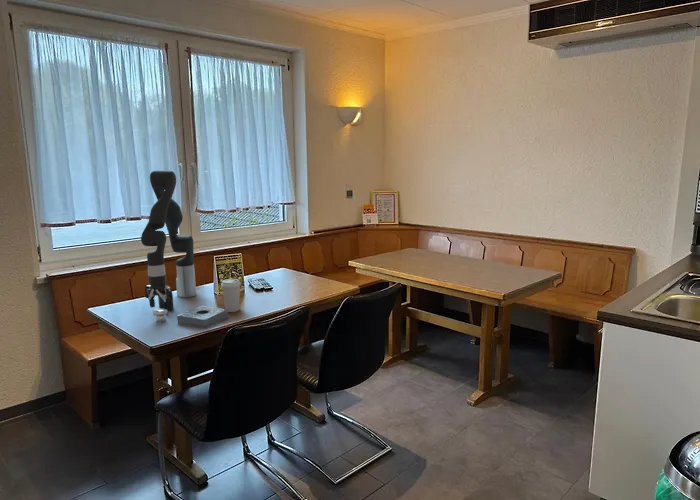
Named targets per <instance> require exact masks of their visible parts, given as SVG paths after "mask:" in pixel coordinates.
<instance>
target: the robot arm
mask: <svg viewBox="0 0 700 500" xmlns="http://www.w3.org/2000/svg"><path fill="white" fill-rule="evenodd" d="M149 182H150V185H151V188H152V190H153V192H154V195H155V197H156V199H157V201H156V202H155V203H154V204H153V205H152V207H151V209H150V211H149V217H148V222H147V224H146V225H145V228H143V229H144V230H143V231H142V233H141V237H140V241H141V244H142V245H143V246H144V247H156V249H155V250H153V251H148V252H147V254H146V260H147V278H148V284H147V285H144V294H145V295H144V297H145V299H148V301H149V307H150V308H154V307H155V306H156V302H155V301H156V300H155V297H158V296H160V297H161V298H162V299H163V300H164V309H165V310H167V309H169V301H170V300H172V299H173V300H174V298H173V297H172V294H173V291H172V290H173V289H172V286H170V287H168V288H166V286H167V285H166V284H167V276H166V275H167V273H166V266H165V255H164V253H165V249H166V243H167V234H166V233H165V231H164V230H160V229H164V228H165V225H166V230H167V233H168V237H169V243H170V246H171V249H172V252H173V253H176V254H177V253H178V254H179V253H180V254H181V253H182V254H184V253H185V255H184V256H183V257H181V258H178V259H176V260H175V268H176V279H175V285H176V286H175V288H176V296H177V297H180V298H192V297H194V296H197V289H196V285H197V283H196V275H195V274H196V272H195V256H194V255H195V253H194V239H193V236H191V235H178V233H177V231H178V229H179V228H180V226H181V224H182V223H183V213H182V209H181V206H180V205H179V204H178V202H176V201H175V200H174V199H173V194H174V193H175V189H176V185H177V175H176V173H175V172H174V171H173V170H153V171H151V172H150V174H149ZM164 294H165V295H164ZM169 295H170V298H169ZM165 297H166V298H165Z"/></svg>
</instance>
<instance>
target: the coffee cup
mask: <svg viewBox="0 0 700 500" xmlns="http://www.w3.org/2000/svg"><path fill="white" fill-rule="evenodd" d="M241 285H242V283H241V282H240V279H238V278H227V279H223V280H222V282H221V284H220V286H221V290H222V295H223V302H224V307H225V308H224V309H228V313H236V312H238V311H239V310H240V294H241V288H240V287H241Z"/></svg>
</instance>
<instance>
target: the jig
mask: <svg viewBox="0 0 700 500" xmlns="http://www.w3.org/2000/svg"><path fill="white" fill-rule="evenodd" d="M176 317H177V320H176V321H177V324H178V325H185V326H189V325H190V326H189V327H195V326H196V328H201V327H202V328H203V329H208V328H209V327H211V326H213V325H216V324H218V323H220V322H221V321H224V320H226V319H228V318H229V312H228V309H225V308H221V307H215V306H207V305H198V306H196V307H194V308H191V309H189V310H187V311H184V312H182V313H180V314H177V315H176ZM202 328H201V329H202Z"/></svg>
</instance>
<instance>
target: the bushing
mask: <svg viewBox="0 0 700 500" xmlns="http://www.w3.org/2000/svg"><path fill="white" fill-rule="evenodd" d="M167 314H168V311H167V310H165V309H164V308H160V309H159V308H156V309H153V311H152V315H153V316H155V322H156V323H157V322H161V323H165V322H166V321H167Z"/></svg>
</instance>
